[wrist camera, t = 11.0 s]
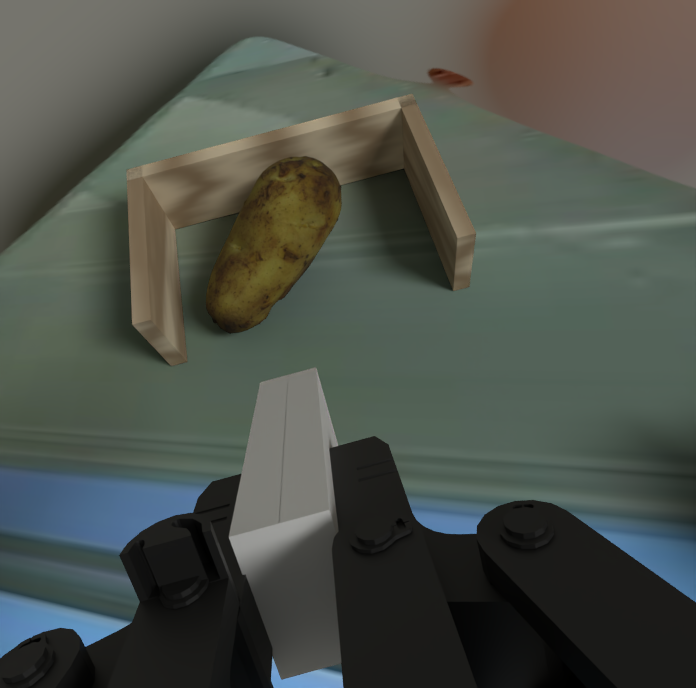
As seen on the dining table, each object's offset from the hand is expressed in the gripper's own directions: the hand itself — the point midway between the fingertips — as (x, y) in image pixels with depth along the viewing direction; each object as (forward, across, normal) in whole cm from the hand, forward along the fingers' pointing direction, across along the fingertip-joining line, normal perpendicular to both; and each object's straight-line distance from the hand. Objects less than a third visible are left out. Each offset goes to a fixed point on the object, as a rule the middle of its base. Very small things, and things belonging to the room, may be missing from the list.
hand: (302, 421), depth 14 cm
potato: (+29, -1, 0) cm, 29 cm away
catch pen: (+30, 0, +1) cm, 30 cm away
